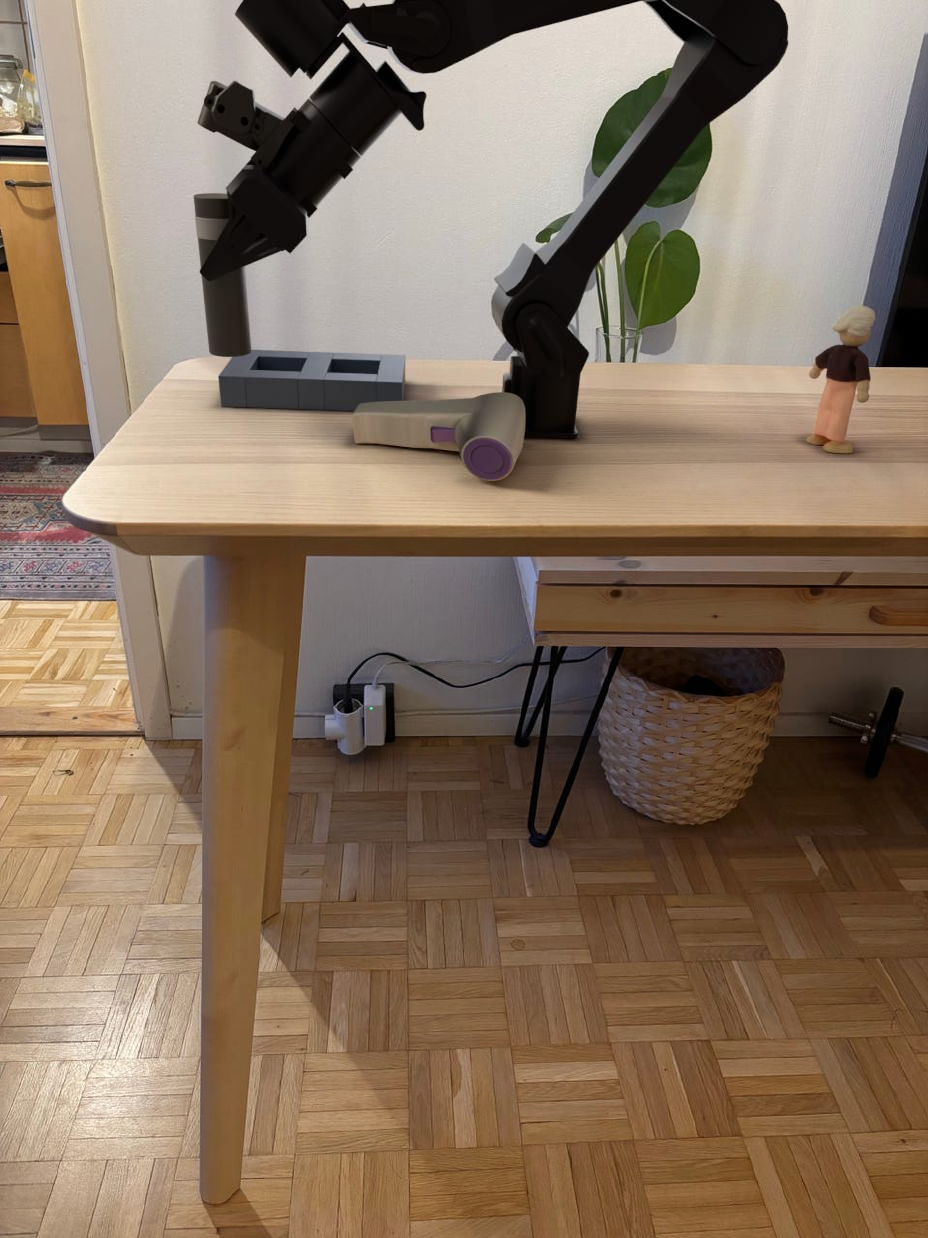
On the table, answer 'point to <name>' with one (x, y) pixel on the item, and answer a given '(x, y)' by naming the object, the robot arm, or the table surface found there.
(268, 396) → the grey flat block
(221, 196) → the dark grey banded cylinder
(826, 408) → the grandmother figurine
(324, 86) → the robot arm
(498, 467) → the infrared thermometer
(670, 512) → the table surface
